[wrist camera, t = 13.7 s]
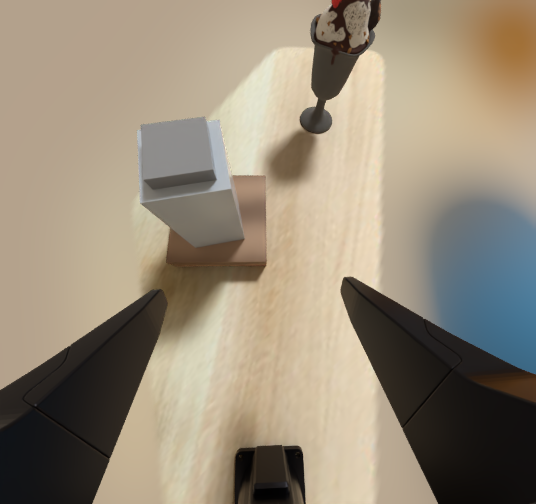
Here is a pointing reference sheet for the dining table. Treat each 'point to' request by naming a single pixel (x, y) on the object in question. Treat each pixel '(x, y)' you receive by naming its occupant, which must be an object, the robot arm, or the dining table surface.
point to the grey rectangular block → (189, 180)
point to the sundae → (337, 52)
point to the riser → (233, 252)
